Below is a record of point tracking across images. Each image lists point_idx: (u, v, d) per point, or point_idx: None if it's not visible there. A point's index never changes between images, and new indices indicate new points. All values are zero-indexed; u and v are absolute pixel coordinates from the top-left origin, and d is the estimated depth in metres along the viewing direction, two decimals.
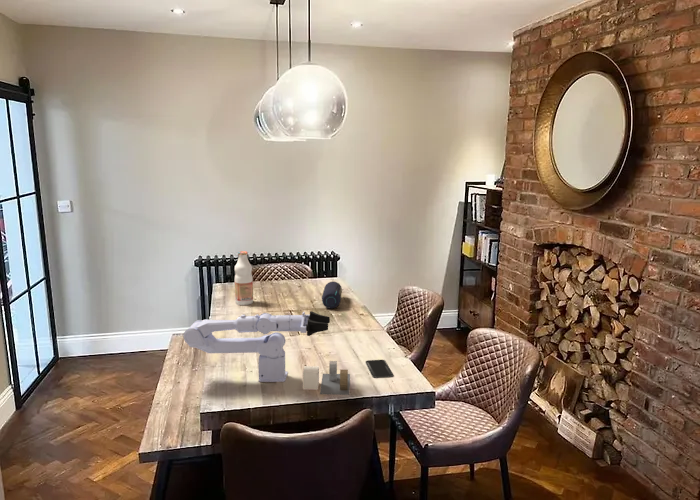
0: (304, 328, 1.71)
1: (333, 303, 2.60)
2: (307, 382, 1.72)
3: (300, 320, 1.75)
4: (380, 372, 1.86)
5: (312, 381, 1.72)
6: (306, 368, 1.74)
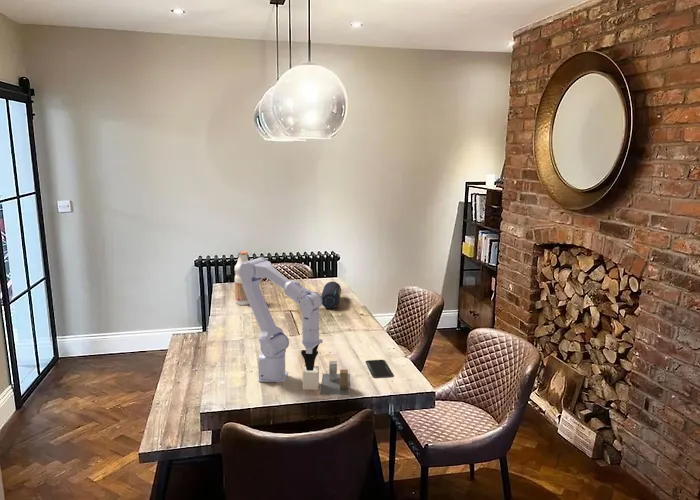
0: (310, 352, 1.65)
1: (332, 303, 2.60)
2: (307, 382, 1.72)
3: (315, 341, 1.70)
4: (380, 372, 1.86)
5: (312, 381, 1.72)
6: None
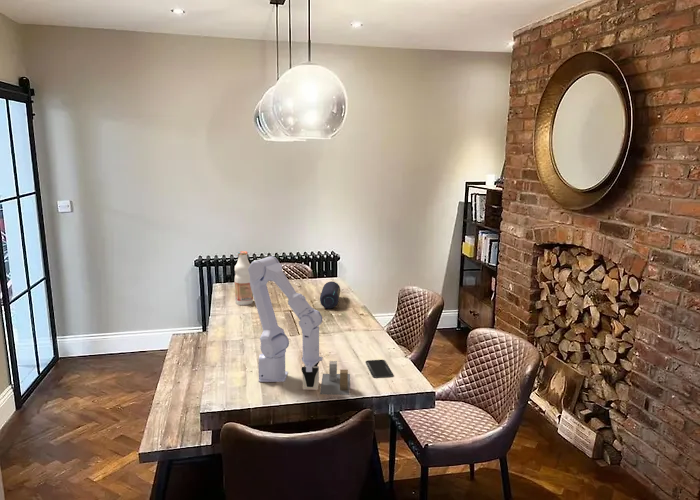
0: (310, 370, 1.66)
1: (331, 303, 2.60)
2: None
3: (315, 359, 1.71)
4: (380, 372, 1.86)
5: None
6: None
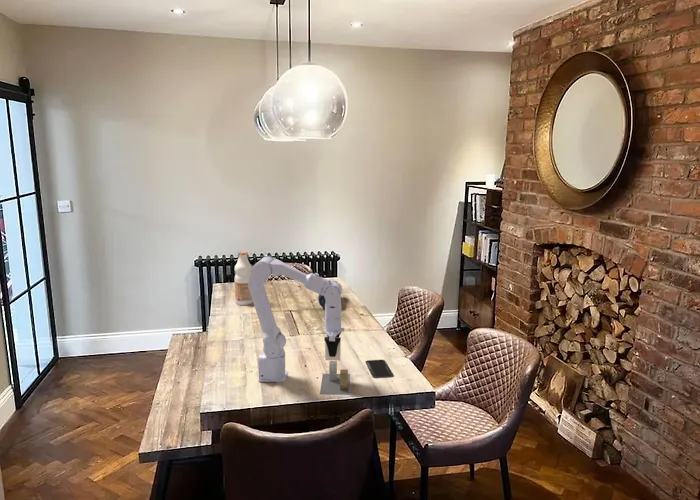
0: (333, 339, 1.70)
1: None
2: None
3: (337, 329, 1.74)
4: (380, 372, 1.86)
5: None
6: None
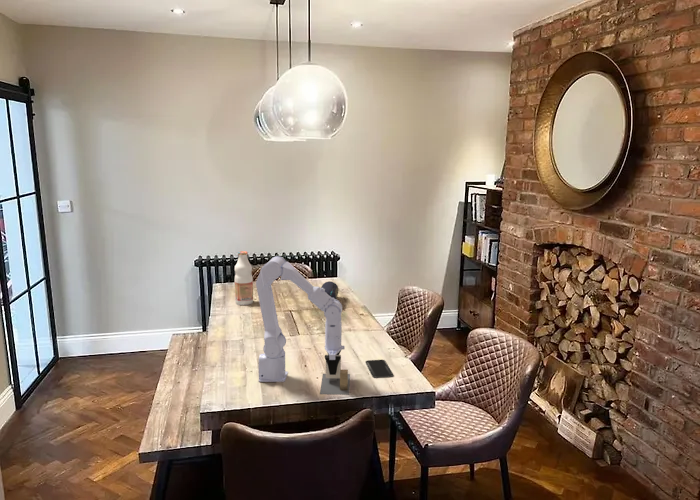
0: (333, 358, 1.71)
1: None
2: None
3: (338, 347, 1.76)
4: (380, 372, 1.86)
5: None
6: None
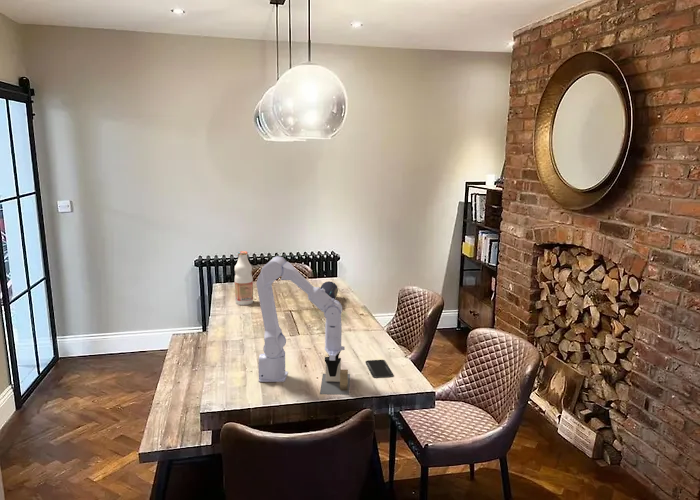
0: (333, 359, 1.71)
1: None
2: None
3: (338, 348, 1.76)
4: (380, 372, 1.86)
5: None
6: None
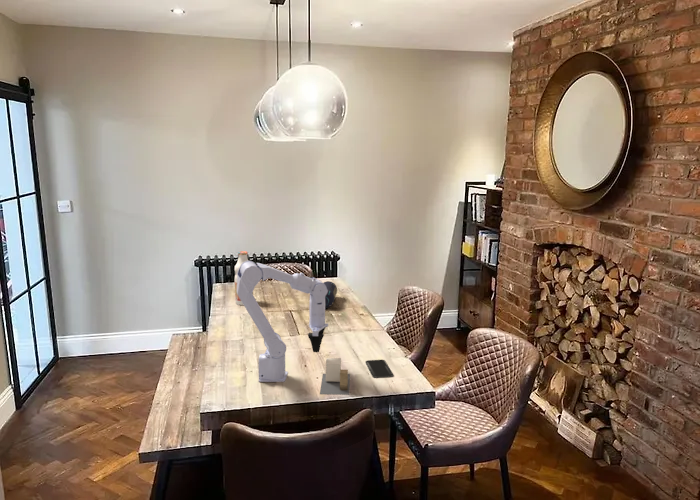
0: (316, 334, 1.77)
1: (326, 303, 2.60)
2: (330, 373, 1.77)
3: (321, 324, 1.82)
4: (380, 372, 1.86)
5: (335, 372, 1.77)
6: (328, 360, 1.79)
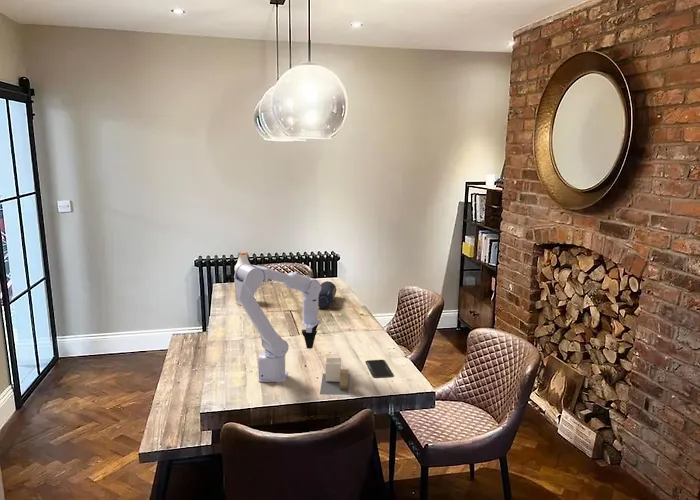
0: (310, 331, 1.80)
1: (325, 303, 2.60)
2: (330, 373, 1.77)
3: (314, 321, 1.85)
4: (380, 372, 1.86)
5: (335, 372, 1.77)
6: (328, 360, 1.79)
